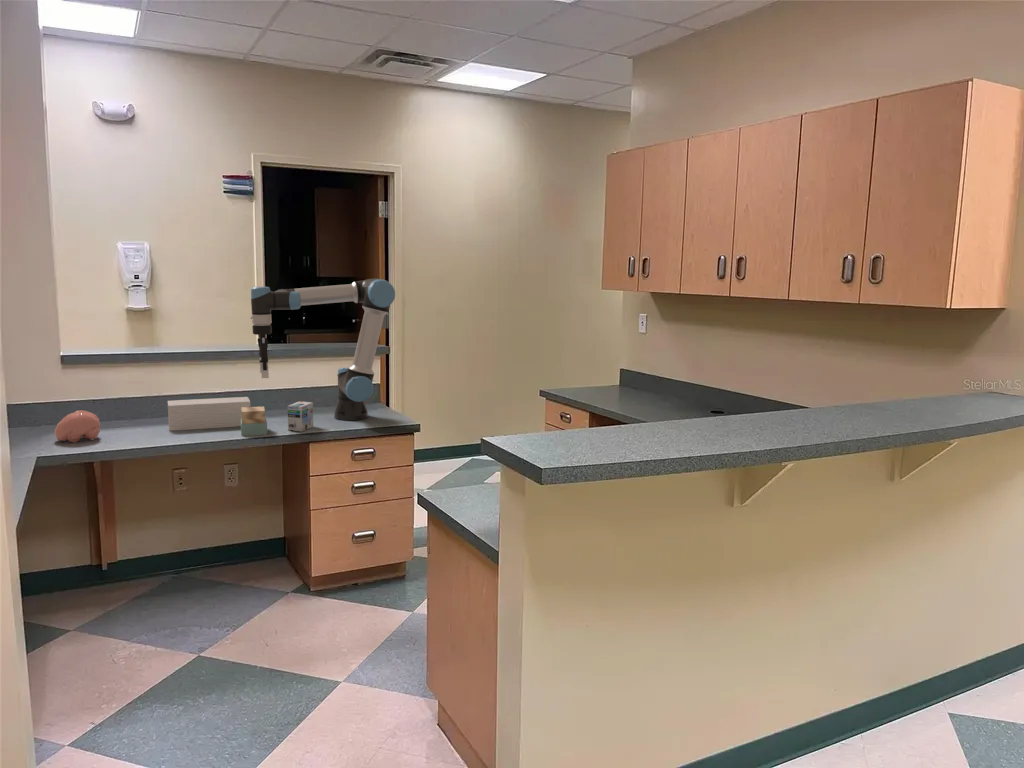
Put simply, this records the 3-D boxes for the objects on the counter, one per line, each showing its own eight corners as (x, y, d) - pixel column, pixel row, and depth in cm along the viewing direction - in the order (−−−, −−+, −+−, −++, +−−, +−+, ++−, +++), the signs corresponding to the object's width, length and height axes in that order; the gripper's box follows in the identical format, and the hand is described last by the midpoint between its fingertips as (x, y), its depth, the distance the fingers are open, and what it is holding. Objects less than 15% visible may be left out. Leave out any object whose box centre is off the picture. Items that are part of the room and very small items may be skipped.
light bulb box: (302, 431, 308) (301, 406, 306) (287, 430, 310) (286, 405, 308) (314, 426, 319) (313, 401, 317) (299, 425, 320) (299, 400, 318)
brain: (61, 455, 278) (44, 427, 274) (68, 446, 290) (51, 419, 286) (104, 436, 282) (87, 408, 278) (109, 428, 294) (93, 401, 290)
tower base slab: (265, 429, 312) (265, 417, 311) (267, 434, 303) (267, 423, 302) (240, 430, 308) (240, 419, 307) (241, 436, 299) (241, 424, 298)
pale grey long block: (248, 420, 326) (247, 396, 324) (251, 425, 317) (250, 401, 315) (168, 425, 313) (167, 400, 311) (169, 431, 303) (167, 405, 301)
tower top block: (264, 418, 310) (264, 406, 310) (265, 422, 302) (264, 410, 301) (241, 419, 307) (241, 407, 306) (241, 423, 299) (241, 411, 298)
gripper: (251, 321, 313) (253, 370, 317) (253, 327, 290) (256, 380, 294) (269, 321, 316) (272, 370, 320) (273, 327, 293) (275, 379, 297)
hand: (264, 375), depth 307 cm, fingers open, 13 cm apart
